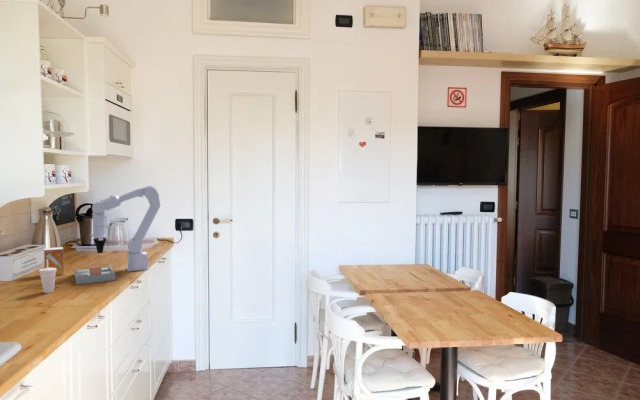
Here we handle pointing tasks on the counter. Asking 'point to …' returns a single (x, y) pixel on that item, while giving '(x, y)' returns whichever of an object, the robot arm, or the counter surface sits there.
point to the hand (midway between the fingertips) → (100, 252)
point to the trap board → (94, 276)
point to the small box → (54, 259)
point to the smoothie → (48, 278)
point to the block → (95, 270)
